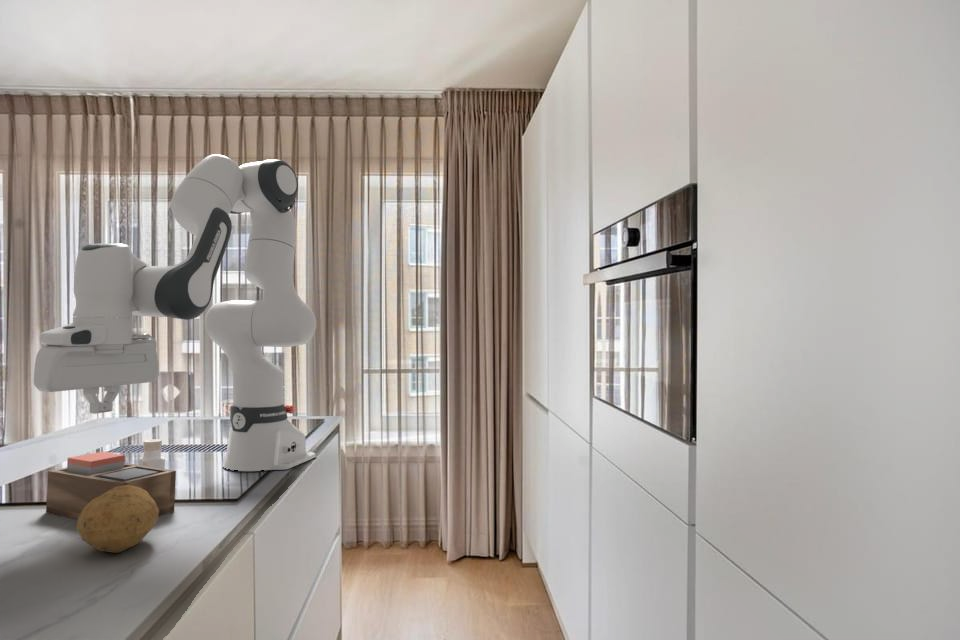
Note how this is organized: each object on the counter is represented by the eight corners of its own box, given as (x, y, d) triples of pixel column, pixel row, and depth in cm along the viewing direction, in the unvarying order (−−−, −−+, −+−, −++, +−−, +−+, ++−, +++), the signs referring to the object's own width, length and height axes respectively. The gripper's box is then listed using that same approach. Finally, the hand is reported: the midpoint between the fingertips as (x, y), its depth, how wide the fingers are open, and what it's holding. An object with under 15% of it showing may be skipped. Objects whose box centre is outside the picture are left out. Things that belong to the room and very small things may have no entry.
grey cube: (132, 502, 101) (134, 467, 101) (156, 506, 98) (158, 471, 99) (98, 511, 95) (100, 475, 95) (123, 516, 93) (125, 479, 93)
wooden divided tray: (104, 497, 106) (105, 459, 107) (174, 511, 100) (175, 470, 100) (46, 512, 97) (48, 470, 97) (119, 528, 90) (121, 483, 91)
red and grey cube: (100, 484, 104) (101, 451, 104) (123, 489, 102) (124, 455, 102) (65, 492, 98) (67, 457, 99) (89, 497, 96) (90, 461, 96)
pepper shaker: (136, 488, 113) (138, 440, 113) (159, 485, 116) (161, 438, 116) (141, 492, 110) (143, 443, 110) (164, 489, 113) (166, 441, 113)
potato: (61, 572, 74) (64, 509, 74) (90, 535, 87) (92, 482, 87) (147, 563, 77) (150, 503, 78) (163, 529, 90) (165, 478, 91)
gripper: (144, 332, 112) (142, 403, 112) (28, 334, 93) (26, 419, 93) (167, 333, 109) (166, 406, 109) (54, 335, 90) (51, 422, 90)
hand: (101, 412), depth 101 cm, fingers closed
